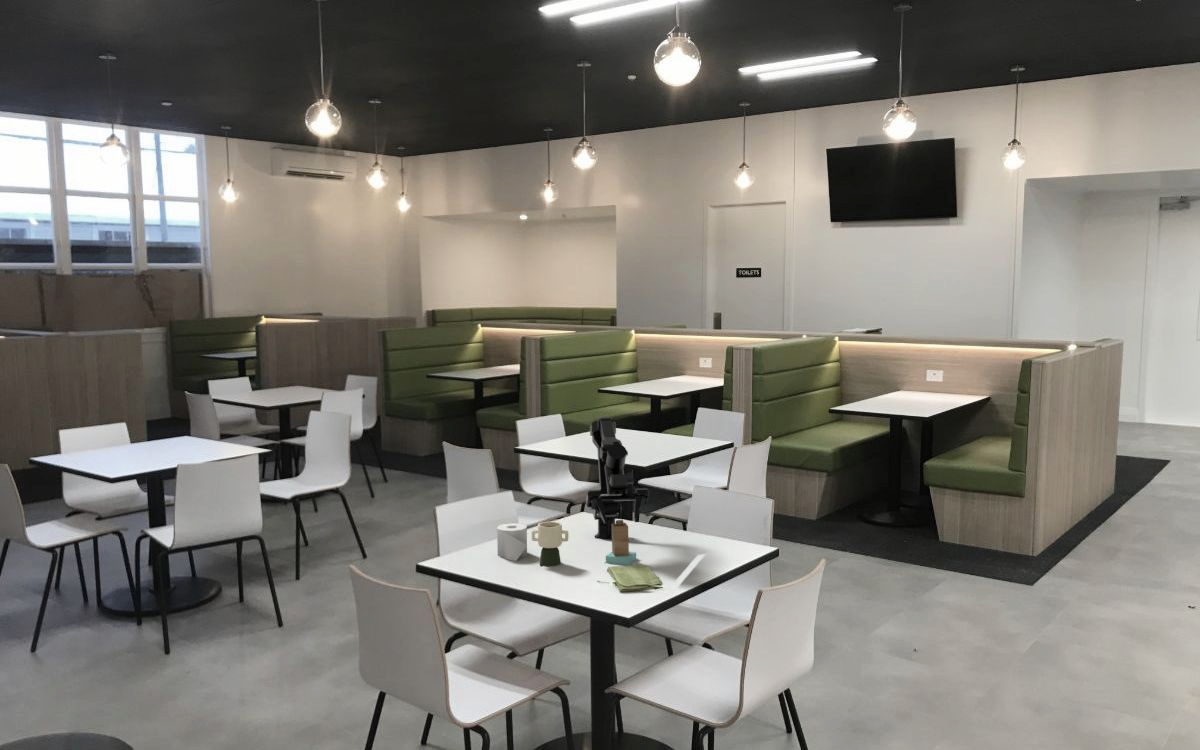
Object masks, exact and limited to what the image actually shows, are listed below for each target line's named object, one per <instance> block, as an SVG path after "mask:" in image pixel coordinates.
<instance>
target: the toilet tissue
mask: <svg viewBox="0 0 1200 750" xmlns="http://www.w3.org/2000/svg"><path fill="white" fill-rule="evenodd" d="M527 527H528V526H527V525H526V524H523V523H513V522H512V523H503V524H499V525H497V527H496V528H497V529H496V532H497V534H496V535H497V542H496V543H497V557H499V556H500V558H503V559H506V560H508V561H513V560H514V562H517V560H518V559H519V558H523V557H527V555H528V533H527V532H528V528H527Z"/></svg>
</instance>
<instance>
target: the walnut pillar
mask: <svg viewBox="0 0 1200 750" xmlns="http://www.w3.org/2000/svg"><path fill="white" fill-rule="evenodd" d="M611 525H612V539H611V552H612V553H613V554H614V556H628V555H629V551H630V549H629V547H630V545H629V543H630V542H629V525H628V524H627V523H626V522H624V520H623V519H616V520H615V524H611Z"/></svg>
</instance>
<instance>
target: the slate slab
mask: <svg viewBox="0 0 1200 750" xmlns="http://www.w3.org/2000/svg"><path fill="white" fill-rule="evenodd" d="M638 559H639V558H637V557H636V559H635V560H634V561H633V562H631V563H630V564H629V565H626V566H631V565H633V563H635V562H636V561H637V560H638ZM604 564H608V565H615V564H614V563H606V561H605V562H604ZM616 565H618V566H624V565H623V564H616Z"/></svg>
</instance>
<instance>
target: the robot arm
mask: <svg viewBox="0 0 1200 750" xmlns="http://www.w3.org/2000/svg"><path fill="white" fill-rule="evenodd" d="M616 425H617V423H616V421H614V418H612V417H598V418H597V420H594V421H592V422H591V423H590V426H589V435H590V437H591V438H592V439H591V441H592V443H593V445H594V446H595V447H596V449H597V461H598V463H597V464H598V480H599V489H590V490H587V492H586V496H585V497H586V499H585V501H586V505H585V506H586V507H587V508H590V509H591V510H592V511H593V513H592V514H593V518H594V520H595V521H596V520H597V533H596V534H595V535H594V538H598V539H611V540H612V525H611V524H615V523H616V520H621V518H622V509H623V506H622V504H621V502H623V501H627V502H628V501H633V503H634V505H633V518H634V522H635V523H637V522H638V516H639V513H640V510H641V508H642V509H643V508H644V507H645V506H648V505H649V499H650V490H649V489H648V488H646V487H645V488H635V491H634V493H627V491H629V487H628V485H632V484H634V481H635V480H634V474H633V473H634V472H633V471H632V472H626V474H625V471H624V467H625V464H626V458H627V456H628V454H629V453H628V450H627V449H626V447H625V446H624V445H623V442H622V441H621V440H620V439H618V438H617V437H616V434H617V426H616Z"/></svg>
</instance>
